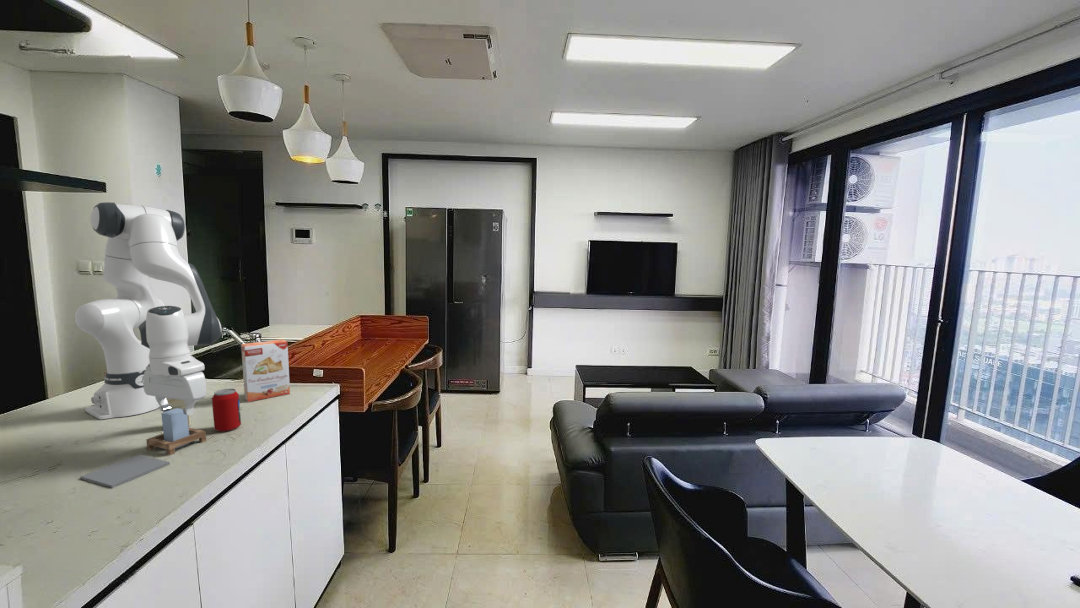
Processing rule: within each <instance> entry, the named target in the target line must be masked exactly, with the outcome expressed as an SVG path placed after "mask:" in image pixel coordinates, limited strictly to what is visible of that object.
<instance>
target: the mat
mask: <svg viewBox="0 0 1080 608" xmlns="http://www.w3.org/2000/svg"><path fill="white" fill-rule="evenodd" d="M168 465H170V461H167V460H163V459H159V458H154V457H151V456H148V455H143V454H136V455H134V456H132V457H129V458H126V459H123V460H121V461H117V462H116V463H113V464H110V465H107V466H105V467H102V468H99V469H96V470H93V471H91V472H89V473H85V474H84V475H83V474H82V475H81V476H80V479H81V480H84V481H88V482H90V483H94V484H98V485H101V486H104V487H108V488H111V489H113V488H115V487H117V486H120V485H123V484H125V483H127V482H129V481H130V482H131V481H132V480H135V479H137V478H140V477H142V476H145V475H146V474H150V473H151V472H154V471H157V470H159V469H161V468H164V467H167V466H168Z"/></svg>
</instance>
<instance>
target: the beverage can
mask: <svg viewBox="0 0 1080 608" xmlns="http://www.w3.org/2000/svg"><path fill="white" fill-rule="evenodd" d="M211 403H212V406H211V407H212V416H213V425H214V427H213V428H214V430H215V431H218V432H221V433H226V432H227V433H228V432H232V431H233V430H236V429H238V428H239V427H240V426H241V424H242V420H241V408H240V407H241V406H240V396H239V392H237V391H236V389H235V388H223V389H220V390H216V391H215V392H214V394H213V395H212V398H211Z"/></svg>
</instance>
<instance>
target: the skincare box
mask: <svg viewBox="0 0 1080 608" xmlns="http://www.w3.org/2000/svg"><path fill="white" fill-rule="evenodd" d="M166 399H167V402H168V404H170V408H171V409H170V410H173V409H176V408H179V409H185V406H186V404H185V403H184V400H178V399H171V398H166ZM170 410H169V411H170ZM163 412H167V411H162V413H163ZM187 417H188V428H190V426H191V424H192V414H191V415H187Z"/></svg>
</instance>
